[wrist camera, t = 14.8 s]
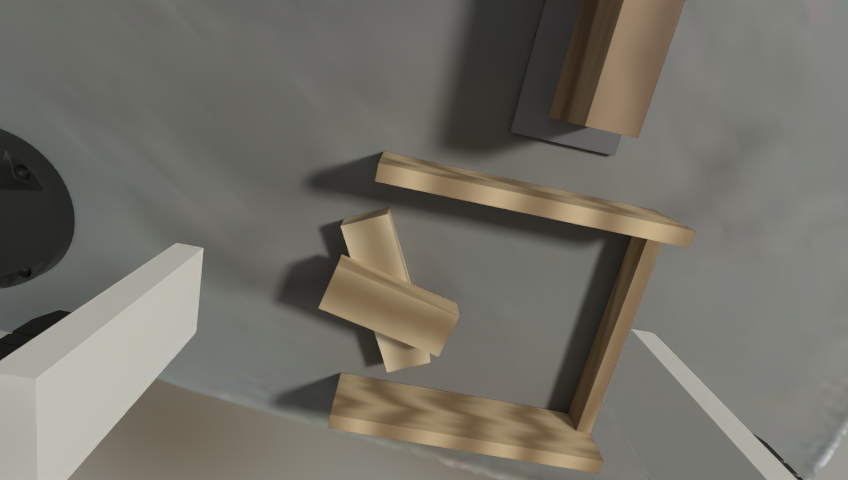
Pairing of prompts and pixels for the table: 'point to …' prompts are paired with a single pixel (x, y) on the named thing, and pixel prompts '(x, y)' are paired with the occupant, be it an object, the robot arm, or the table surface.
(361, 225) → the slab long
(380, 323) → the slab short
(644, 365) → the robot arm
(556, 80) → the mat
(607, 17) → the brown wooden block
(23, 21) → the table surface
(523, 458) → the rack
